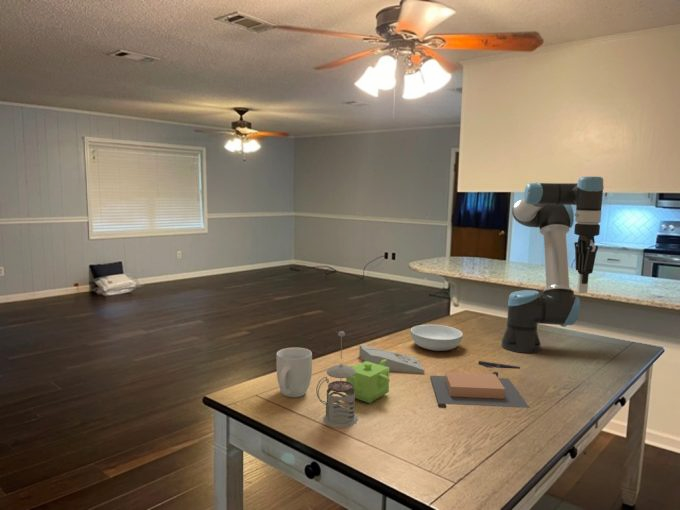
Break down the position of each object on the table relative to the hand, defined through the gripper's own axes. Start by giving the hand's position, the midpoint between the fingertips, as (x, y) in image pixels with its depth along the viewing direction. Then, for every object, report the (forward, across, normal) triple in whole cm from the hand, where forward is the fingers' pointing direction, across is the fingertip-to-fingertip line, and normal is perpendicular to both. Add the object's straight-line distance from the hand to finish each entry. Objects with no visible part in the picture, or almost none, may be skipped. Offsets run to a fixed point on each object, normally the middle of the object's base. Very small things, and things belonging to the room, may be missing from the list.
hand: (582, 292), depth 163 cm
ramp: (+30, -4, -64) cm, 71 cm away
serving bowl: (+30, -26, -45) cm, 60 cm away
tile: (+27, +19, -31) cm, 45 cm away
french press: (+30, +41, -80) cm, 95 cm away
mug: (+30, +26, -95) cm, 103 cm away
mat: (+29, +19, -38) cm, 52 cm away
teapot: (+30, +25, -72) cm, 82 cm away
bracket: (+30, 0, -27) cm, 41 cm away
